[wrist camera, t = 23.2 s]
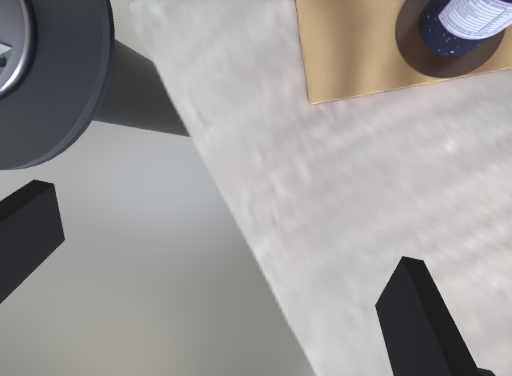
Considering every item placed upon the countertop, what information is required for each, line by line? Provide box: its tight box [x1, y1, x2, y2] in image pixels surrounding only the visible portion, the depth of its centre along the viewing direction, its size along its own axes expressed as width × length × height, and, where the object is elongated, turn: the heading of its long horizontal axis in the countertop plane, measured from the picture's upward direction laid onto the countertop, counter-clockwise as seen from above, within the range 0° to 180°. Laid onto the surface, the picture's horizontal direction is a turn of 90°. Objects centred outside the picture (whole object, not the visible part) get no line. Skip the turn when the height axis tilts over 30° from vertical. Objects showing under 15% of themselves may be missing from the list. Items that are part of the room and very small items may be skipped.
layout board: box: [295, 0, 512, 105], centre depth 28 cm, size 20×12×1 cm, turn 98°
